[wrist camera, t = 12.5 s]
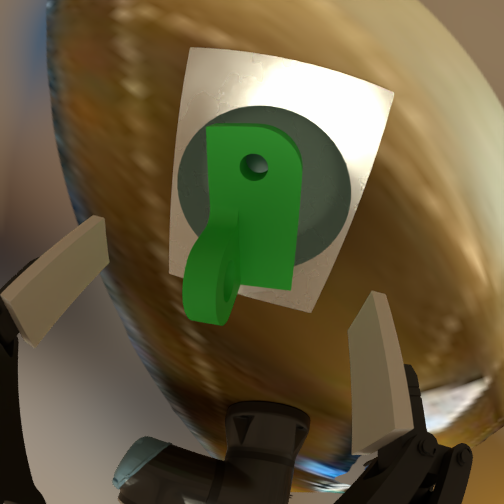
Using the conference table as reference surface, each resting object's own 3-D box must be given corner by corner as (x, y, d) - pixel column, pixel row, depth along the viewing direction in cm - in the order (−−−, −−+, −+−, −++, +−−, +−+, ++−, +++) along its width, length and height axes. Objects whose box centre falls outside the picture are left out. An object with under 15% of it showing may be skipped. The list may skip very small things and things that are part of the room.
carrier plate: (311, 304, 26) (310, 314, 25) (173, 266, 27) (168, 274, 25) (389, 92, 15) (395, 92, 13) (196, 49, 15) (189, 47, 14)
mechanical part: (292, 275, 23) (282, 352, 16) (222, 267, 24) (190, 337, 17) (305, 126, 16) (304, 147, 10) (215, 123, 17) (158, 145, 10)
